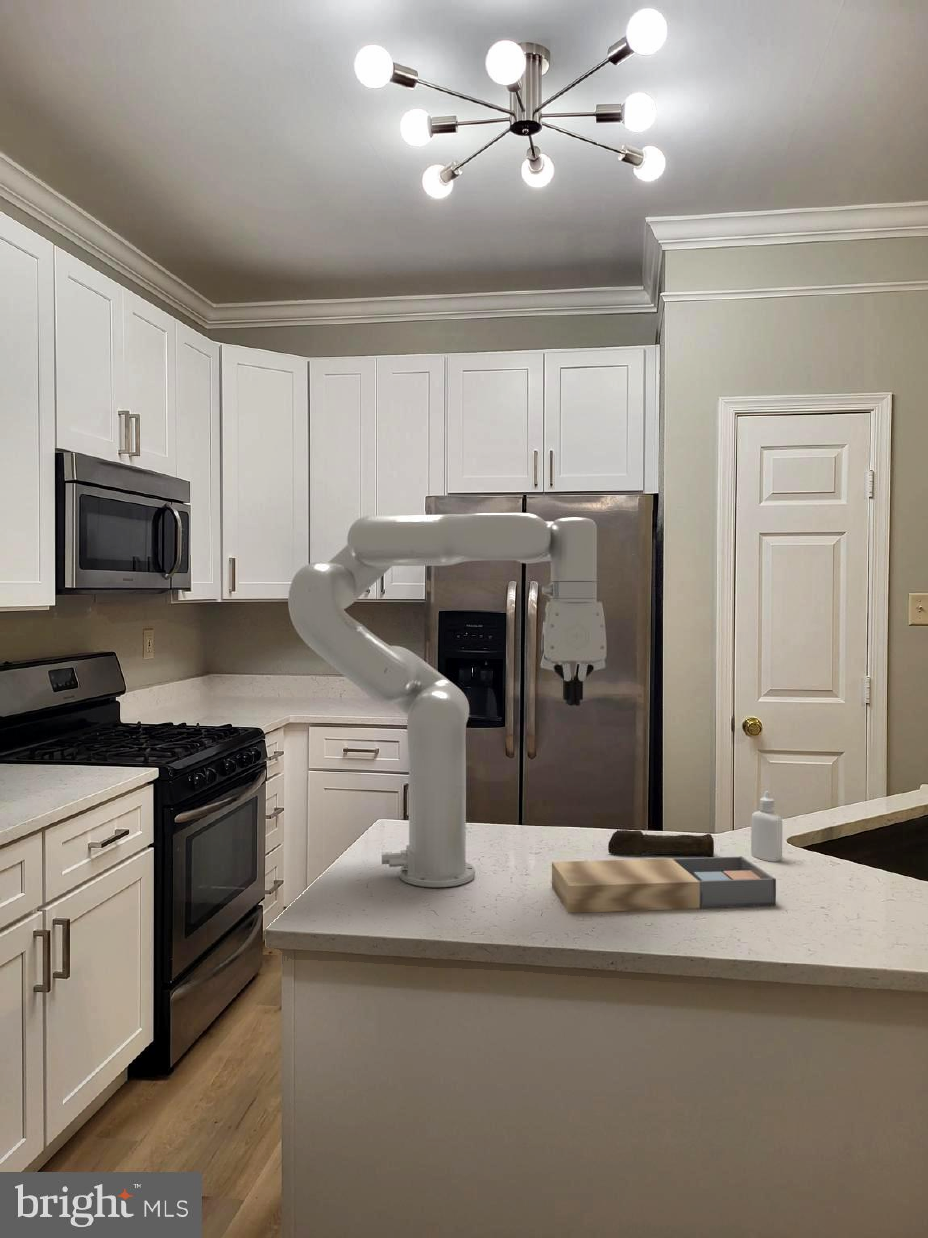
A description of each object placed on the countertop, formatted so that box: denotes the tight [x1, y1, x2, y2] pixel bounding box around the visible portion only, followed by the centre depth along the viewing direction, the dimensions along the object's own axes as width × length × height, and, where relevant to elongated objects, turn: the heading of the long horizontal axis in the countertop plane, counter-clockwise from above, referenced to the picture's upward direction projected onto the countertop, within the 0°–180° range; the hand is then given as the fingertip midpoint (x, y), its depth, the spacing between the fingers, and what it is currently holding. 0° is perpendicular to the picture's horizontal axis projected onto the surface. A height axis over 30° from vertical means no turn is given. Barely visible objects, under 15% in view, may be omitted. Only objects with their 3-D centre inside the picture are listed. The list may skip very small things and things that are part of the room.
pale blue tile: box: [694, 872, 731, 881], centre depth 136 cm, size 4×4×2 cm
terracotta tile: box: [723, 870, 761, 880], centre depth 136 cm, size 4×4×2 cm
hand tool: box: [607, 829, 715, 857], centre depth 158 cm, size 19×4×5 cm, turn 87°
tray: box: [672, 856, 777, 909], centre depth 136 cm, size 12×12×4 cm
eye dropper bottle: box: [750, 791, 783, 863], centre depth 156 cm, size 4×6×12 cm
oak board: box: [551, 858, 701, 914], centre depth 135 cm, size 20×12×4 cm, turn 96°
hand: (572, 704), depth 142 cm, fingers closed
